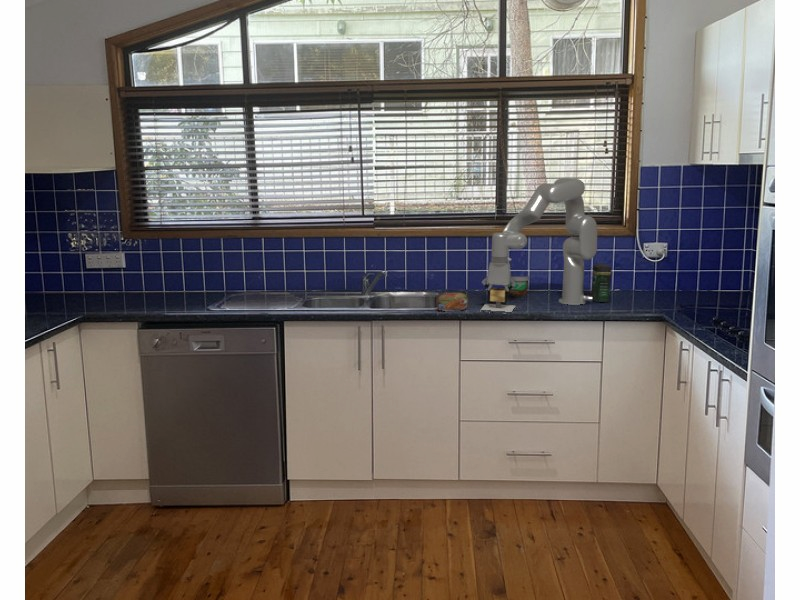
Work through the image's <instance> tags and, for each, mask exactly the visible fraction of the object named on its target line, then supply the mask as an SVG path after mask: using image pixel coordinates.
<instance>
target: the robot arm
mask: <svg viewBox="0 0 800 600" xmlns="http://www.w3.org/2000/svg"><path fill="white" fill-rule="evenodd" d="M585 190H586V185H585V183H584V182H583V180H581V179H579V178H568V177H565V178H564V177H563V178H558V179H556V180H555V181H554V182H553V183H541V184H539V186H537V187H536V189H535V190H534V192H533V194H532V196H531V197H530V199H529V200H528V202H526V203H527V204H526V205H525V206H524V208H523V209H522V210H521V211H520V212H518V213H517V214H516V215H515V216H514V217H513V218H511V219H510V220H509V222H508V223H507V224H506V226H505V227H504V229H503V230H502V232H495V233H492V237H491V258H490V259H491V262H489V265H488V272H487V276H486V277H485V278H484V279H483V280H482V281H481V284H483V286H484V287H485V289H487V291H488V292H487V293H488V294H487V296H488V298H489V300H490V290H491V289H492V288H493V286H504V289H506V291H505V301H508V299H509V296H510V295H509V290H510V289H512V288H513V287H514V286H515V285H516V282H515V281H514V280H513V279H512V278H511V263H510V262H512V258H511V257H509V252H510V249H512V250H521V249H523V248H524V247H526V246H527V245H528V238H527V236H526V235H525V234H524V233H522V232H521V231H522V229H524V228H525V227H527V226H528V225H531V224H532V223H535V222H537V221H539V220H540V219H541V217H542V216H543V214H544V212H545V211H546V209H547V208H548V207H549V205H550V204H558V203H563V202H564V204H565V229H566V232H567V233H569V234H571V235H573V236H571V237H568V238H566V239H565V240H564V241H563V244H562V254H563V255H562V256H563V273H562V274H563V275H562V276H563V277H562V294H561V296H562V297H560V298H559V299H558V303H560V304H563V305H567V304H568V305H567V306H581V305H580V304H583V305H585V304H587V302H586V301H593V300H592V296H591V295H584V279H585V263H584V262H585V261H584V260H587V261H589V260H592V259H593V258H594V257H595V255H596V253H597V251H598V250H597V249H598V226H597V222H596V220H595V219H594V217H592V216H590V215H586V214H585V202H584V199H583V194H584V192H585ZM574 235H575V236H574ZM576 236H577V237H576ZM510 282H512V285H511V286H510V287H509V286H508V285H509V284H510Z"/></svg>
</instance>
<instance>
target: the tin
mask: <svg viewBox="0 0 800 600" xmlns="http://www.w3.org/2000/svg"><path fill="white" fill-rule="evenodd" d="M469 302H470V301H469V297H468V296H467V294H465V293H464V292H460V291H459V292H443V293H441V294H439V295H437V298H436V301H435V304H436V307H437V309H438V310H440V311H441V310H452V309H464V310H465V309H467V307H468V305H469Z"/></svg>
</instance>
